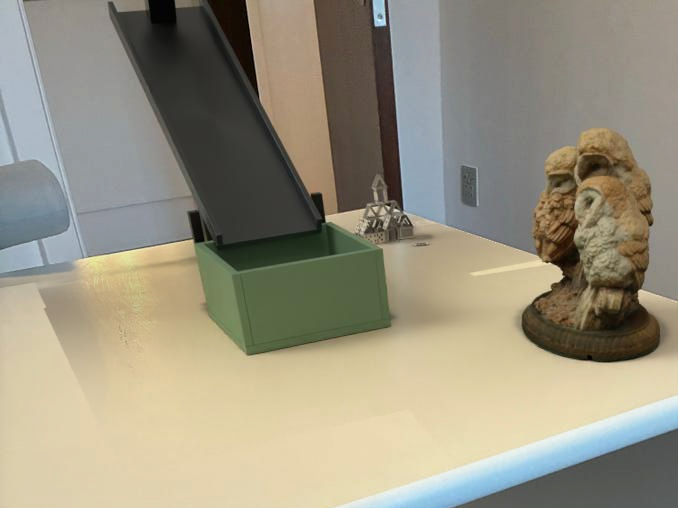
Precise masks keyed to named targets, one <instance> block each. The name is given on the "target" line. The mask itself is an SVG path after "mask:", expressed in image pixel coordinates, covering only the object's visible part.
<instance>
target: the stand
mask: <svg viewBox="0 0 678 508" xmlns="http://www.w3.org/2000/svg"><path fill="white" fill-rule="evenodd" d="M310 197H311V198H312V200H313V202H314V204H315V206H316V208H317V210H318V212H319V214H320V215H321V217H322V223H326V222H327V219H326V213H325V205H324V199H323V193H322V192H320V191H316V192H311V193H310ZM196 208H197V209H194V210H187V211H186V213H187V218H188V223H189V228H190V233H191V237H192V242H193V247H194V248H195V246H194V244H195V243H200V242H201V243H202V242H206V241H213V239H212V237H211V234H210V232H209V230H208V228H207V226H206V224H205V221H204V219H203V217H202V215H201V213H200V211H199V209H198V206H197V205H196ZM194 252H195V253H196V251H195V250H194ZM195 256H196V257H197V255H196V254H195ZM196 260H197V259H196ZM196 262H198V260H197V261H196ZM197 265H198V264H197ZM198 267H199V265H198ZM198 271H200V269H199V268H198ZM199 274H200V273H199ZM200 276H201V274H200ZM200 280H201V281H202V279H201V278H200ZM201 284H202V285H203V283H202V282H201ZM202 288H203V287H202ZM203 290H204V288H203ZM203 294H204V295H205V293H204V292H203ZM204 298H205V297H204ZM205 300H206V298H205ZM205 303H206V304H207V302H206V301H205ZM206 308H207V309H208V307H207V306H206Z"/></svg>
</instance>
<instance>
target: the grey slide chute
mask: <svg viewBox="0 0 678 508" xmlns="http://www.w3.org/2000/svg"><path fill="white" fill-rule="evenodd" d="M198 1H199V5H196V6H183V7H182V6H181V7H176V0H144V7H145V9H142V10H141V9H140V10H129V11H118V10H117V7H116V6H115V3H114V1H107V8H108V14H109V18H110V21H111V24H112V26H113V27H114V30H115V32H116V34H117V36H118V39H119V40H120V43H121V45H122V47H123V49H124V51H125V54H126V55H127V58H128V60H129V62H130V64H131V66H132V68H133V71H134V73H135V76H136V77H137V79H138V82H139V83H140V86H141V87H142V90H143V92H144V94H145V97H146V99H147V101H148V103H149V105H150V107H151V109H152V112H153V114H154V116H155V118H156V120H157V122H158V124H159V127H160V129H161V130H162V132H163V135H164V137H165V140H166V142H167V144H168V146H169V148H170V150H171V153H172V155H173V157H174V159H175V161H176V163H177V166H178V168H179V170H180V172H181V174H182V176H183V178H184V180H185V183H186V185H187V187H188V189H189V191H190V193H191V196H192V198H193V201H194V202H195V204H196V207H197V206H198V208H197V210H198V209H199V211H200V213H201V215H202V217H203V219H204V221H205V224H206V226H207V228H208V230H209V232H210V234H211V237H212V239H213V241H214V243H215V245H216V247H217V249H218V250H220V249H226V248H232V247H238V246H245V245H251V244H257V243H263V242H269V241H275V240H282V239H288V238H294V237H300V236H306V235H312V234H319V233H322V217H321V215H320V214H319V212H318V210H317V208H316V206H315V204H314V202H313V200H312V198H311V194H310V192H309V191H308V189H307V187H306V185H305V183H304V182H303V179H302V177H301V176H300V174H299V172H298V170H297V169H296V166H295V164H294V163H293V160H292V159H291V157H290V155H289V153H288V152H287V150H286V148H285V146H284V143H283V142H282V140H281V138H280V136H279V135H278V132H277V130H276V129H275V127H274V125H273V123H272V122H271V121H272V120H271V119H270V117H269V116H268V113H267V112H266V109H265V108H264V106H263V104H262V102H261V100H260V98H259V97H258V94H257V93H256V91H255V89H254V87H253V86H252V83H251V82H250V80H249V78H248V76H247V74H246V72H245V70H244V68H243V66H242V64H241V63H240V61H239V59H238V57H237V55H236V53H235V51H234V50H233V48H232V45H231V44H230V42H229V40H228V39H227V36H226V34H225V32H224V30H223V29H222V26H221V25H220V23H219V21H218V19H217V17H216V15H215V13H214V12H213V9H212V8H211V6H210V4H209V2H208V0H198Z"/></svg>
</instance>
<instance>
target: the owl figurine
mask: <svg viewBox="0 0 678 508" xmlns="http://www.w3.org/2000/svg"><path fill="white" fill-rule="evenodd" d="M544 162H545V164H544V167H543V170H544V176H545V185H544V186H545V189H544V190H542V192H541V194H540V195H539V203H538V204H537V206H535V207H534V210H533V213H532V216H533V222H532V224H533V225H532V229H531V237H532V238H533V239H534V247H535V252H536V254H537V256H538V258H539V259H540V260H541V262H542V263H545V264H551V265H554V266H556V267H557V268H558V269H560V271H561V275H562V278H561V279H560V280H559V281H557V282H553V283H552V284H550V290H548V291H545V292H543V293H541V294H539V295H538V296H536V297H535V298H533V301H531V303H530V304H528V306H527V307H526V308H525V309H524V310H523V312H522V314H521V328H522V330H523V334H524V335H525V336H526V337H527V338H528V339H529V340H530V341H531V342H532V343H534V344H535V345H536V346H538V347H539V348H542V349H543V350H545V351H548V352H550V353H552V354H554V355H555V354H556V355H559V356H562V357H565V358H571V359H575V360H587V359H588V358H589V357H590V356H591V359H592V360H593V361H596V362H613V361H617V360H629V359H631V358H632V359H633V358H639V357H642V356H644V355H647V354H648V353H652V352H653V351H655V350H656V349H657V347H658V346H659V343H660V341H661V325H660V323H659V322H658V320H657V319H656V318H655V315H653V314H651V313H650V312H649V311H648V309H647V308H646V307H645V306H643V305H642V303H640V300H639V291H640V290H641V289H642V288H643V286H644V283H645V280H646V279H645V278H646V275H645V274H646V272H647V271H648V268H649V264H650V243H649V239H650V234H651V231H650V227H652V226H653V225H654V217H653V214H652V213H653V212H652V209H653V207H654V202H653V199H652V198H651V196H652V183H651V179H650V177H649V176H648V173H647V171H646V170H645V169H643V168H640V167H639V165H638V162H637V160H636V159H635V157H634V154H633V150H632V148H631V147H630V145H629V142H628V141H627V140H626V139H625V138H624V137H623V135H621V134H620V133H619V132H617V131H614V130H612V129H610V128H609V127H603V126H601V127H595V128H594V127H592V128H590V129H587V130H586V131H582V132H581V134H580V136H578V139H577V146H571V145H566V146H564V147H562V148H560V149H556V150H555V151H553V152H552V153H550V154H549V156H548V157H547V159H545V161H544Z"/></svg>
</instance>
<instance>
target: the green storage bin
mask: <svg viewBox="0 0 678 508" xmlns="http://www.w3.org/2000/svg"><path fill="white" fill-rule="evenodd" d="M194 246H195V247H194ZM193 247H194V252H195V251H196V252H195V256H196V255H197V256H196V260H198V261H197V265H199V266H198V270H199V269H200V270H199V274H201V275H200V280H201V279H202V280H201V284H202V283H203V284H202V288H204V289H203V294H204V293H205V294H204V298H206V299H205V303H206V302H207V303H206V308H207V307H208V308H207V312H208V315H209V318H211V320H212V321H213V322H214V323H215V324H216V325H217V326H218V327H219V328H220V329H221V330H222V331H223V332H224V334H226V335H227V336H228V337H229V338H230V339H231V340H232V341H233V343H235V345H237V346H238V348H240V349H241V351H243V352H244V354H245V355H246V356H251V355H255V354H260V353H265V352H271V351H275V350H280V349H286V348H290V347H294V346H299V345H304V344H310V343H314V342H319V341H324V340H330V339H334V338H339V337H345V336H349V335H354V334H358V333H363V332H364V333H365V332H369V331H374V330H379V329H383V328H387V327H391V326H392V325H391V315H390V307H389V306H390V304H389V296H388V286H387V275H386V268H385V267H386V266H385V257H384V249H383V248H382V247H381V246H378V245H376V244H373V243H371V242H369V241H367V240H365V239H363V238H361V237H359V236H357V235H355V234H354V232H351V231H349V230H348V229H346V228H344V227H342V226H339V225H338V224H336V223H334V222H332V221H326V223H322V233H319V234H312V235H306V236H300V237H294V238H288V239H282V240H275V241H269V242H263V243H257V244H251V245H245V246H238V247H232V248H226V249H220V250H218V249H217V247H216V245H215V243H214V241H206V242H202V243H201V242H200V243H195V244H194V243H193Z"/></svg>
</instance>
